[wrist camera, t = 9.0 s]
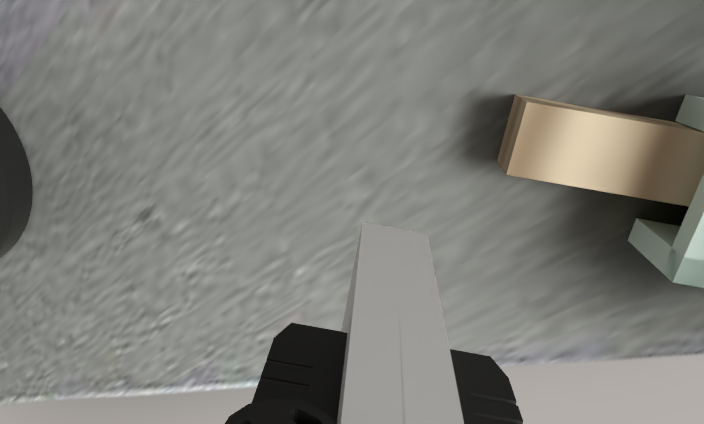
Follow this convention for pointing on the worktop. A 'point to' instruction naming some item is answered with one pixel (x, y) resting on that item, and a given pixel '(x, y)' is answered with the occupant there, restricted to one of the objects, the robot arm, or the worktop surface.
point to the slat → (602, 150)
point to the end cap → (671, 240)
